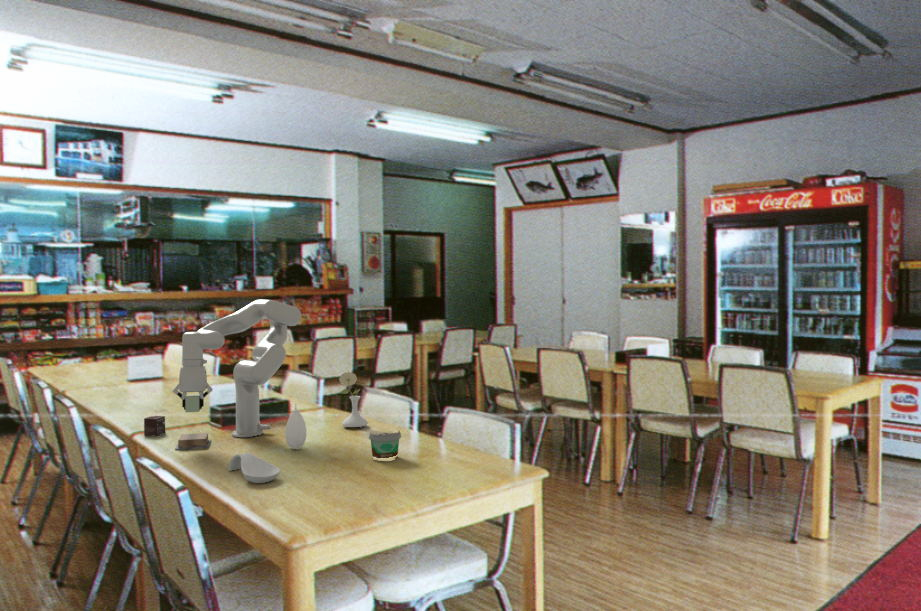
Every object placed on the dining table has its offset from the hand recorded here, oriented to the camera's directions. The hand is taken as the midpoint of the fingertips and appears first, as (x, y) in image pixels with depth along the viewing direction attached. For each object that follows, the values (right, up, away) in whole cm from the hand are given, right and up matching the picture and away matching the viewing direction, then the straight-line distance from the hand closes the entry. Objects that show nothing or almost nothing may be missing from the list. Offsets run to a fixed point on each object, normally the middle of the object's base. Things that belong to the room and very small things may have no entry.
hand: (193, 408), depth 259 cm
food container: (+79, -16, -18) cm, 83 cm away
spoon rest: (+36, -17, -40) cm, 56 cm away
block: (0, -1, 0) cm, 1 cm away
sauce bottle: (+42, -16, -4) cm, 45 cm away
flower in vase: (+58, -14, +35) cm, 69 cm away
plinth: (0, -15, +1) cm, 15 cm away
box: (-24, -14, +19) cm, 34 cm away
